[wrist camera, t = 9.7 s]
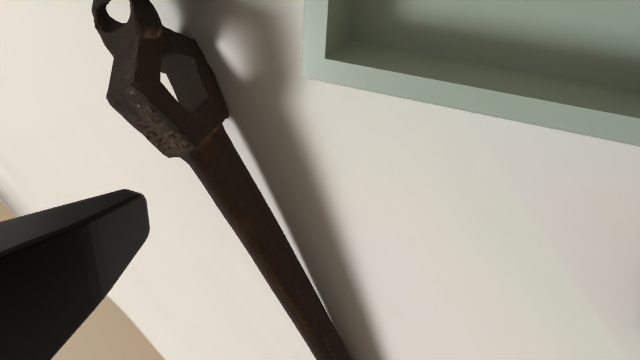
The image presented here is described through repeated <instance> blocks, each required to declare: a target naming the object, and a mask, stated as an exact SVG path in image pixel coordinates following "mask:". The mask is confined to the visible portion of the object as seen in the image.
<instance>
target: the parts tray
mask: <svg viewBox="0 0 640 360" xmlns="http://www.w3.org/2000/svg"><path fill="white" fill-rule="evenodd" d="M301 77H302V78H306V79H311V80H316V81H321V82H326V83H331V84H336V85H341V86H346V87H351V88H356V89H360V90H365V91H370V92H375V93H380V94H385V95H390V96H395V97H400V98H405V99H410V100H414V101H419V102H424V103H429V104H434V105H439V106H444V107H449V108H454V109H459V110H463V111H468V112H473V113H478V114H483V115H488V116H493V117H498V118H503V119H508V120H513V121H517V122H522V123H527V124H532V125H537V126H542V127H547V128H552V129H557V130H562V131H567V132H571V133H576V134H581V135H586V136H591V137H596V138H601V139H606V140H611V141H616V142H620V143H625V144H630V145H635V146H640V0H304V24H303V48H302V73H301Z"/></svg>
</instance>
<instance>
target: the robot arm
mask: <svg viewBox="0 0 640 360" xmlns="http://www.w3.org/2000/svg"><path fill="white" fill-rule="evenodd" d="M149 230H150V225H149V217H148V209H147V201H146V198H145V197H144V195H142V194H141V193H138V192H134V191H131V190H127V189H122V190H118V191H115V192H111V193H107V194H103V195H100V196H96V197H92V198H88V199H84V200H81V201H77V202H73V203H69V204H66V205H62V206H58V207H54V208H51V209H47V210H43V211H39V212H35V213H32V214H28V215H24V216H20V217H17V218H13V219H9V220H6V221H2V222H0V360H51V359H52V358H53V356H54V355H55V354H56V353H57V352H58V351H59V350H60V349H61V347H62V346H63V345H64V344H65V343H66V342H67V340H68V339H69V338H70V337H71V336H72V335H73V334H74V333H75V331H76V330H77V329H78V328H79V327H80V326H81V324H82V323H83V322H84V321H85V320H86V319H87V318H88V317H89V315H90V314H91V313H92V312H93V311H94V310H95V308H96V307H97V306H98V305H99V304H100V302H101V301H102V300H103V299H104V298H105V296H106V295H107V294H108V292H109V291H110V290H111V288H112V287H113V286H114V284H115V283H116V281H117V280H118V279H119V277H120V276H121V274H122V273H123V272H124V270H125V269H126V267H127V266H128V265H129V263H130V262H131V260H132V259H133V258H134V256H135V255H136V253H137V252H138V251H139V249H140V248H141V246H142V245H143V244H144V242H145V241H146V239H147V237H148V234H149Z"/></svg>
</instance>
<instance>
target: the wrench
mask: <svg viewBox="0 0 640 360" xmlns="http://www.w3.org/2000/svg"><path fill="white" fill-rule="evenodd" d="M110 1H111V0H93V5H92V14H93V17H94V23H95V28H96V29H97V31H98V33H99V34H100V36H101V38H102V41H103V43H104V44H105V46H106V48H107V49H108V50H109V51H110V53H111V54H112V55H113V57H114V61H113V66H112V71H111V77H110V82H109V88H108V92H107V95H106V98H107V100H108V102H109V104H110V105H111V106H112V107H113V108H114V109H115V110H116V111H117V112H118V113H119V114H121V115H122V116H123V117H124V118H125V119H126V120H127V121H128V122H129V123H130V124H131V125H132V126H133V127H134V128H135V129H137V130H138V131H139V132H140V133H142V134H143V135H144V136H145V137H146V138H147V140H149V141H150V142H151V143H152V144H153V145H154V146H155V147H156V148H157V149H158V150H159V151H160V152H161V153H162V154H163V155H165V156H167V157H168V158H171V157H180V158H182V159H183V160H184V161H186V162H187V163H188V164H189V165H190V167H191V168H192V169H193V171H194V172H195V174H196V175H197V177H198V178H199V179H200V181H201V182H202V184H203V185H204V187H205V188H206V190H207V191H208V193H209V195H210V196H211V198H212V199H213V201H214V202H215V204H216V205H217V207H218V208H219V210H220V211H221V213H222V214H223V216H224V217H225V219H226V220H227V222H228V223H229V224H230V226H231V227H232V229H233V230H234V232H235V233H236V235H237V236H238V238H239V239H240V241H241V242H242V244H243V245H244V247H245V248H246V250H247V251H248V253H249V254H250V256H251V257H252V259H253V261H254V262H255V264H256V265H257V267H258V268H259V270H260V272H261V273H262V275H263V276H264V278H265V280H266V281H267V283H268V284H269V286H270V287H271V289H272V291H273V292H274V294H275V295H276V297H277V298H278V300H279V301H280V303H281V304H282V306H283V308H284V309H285V311H286V312H287V314H288V315H289V317H290V318H291V320H292V321H293V323H294V324H295V326H296V328H297V329H298V331H299V332H300V334H301V335H302V337H303V339H304V340H305V342H306V343H307V345H308V347H309V348H310V350H311V352H312V353H313V355H314V357H315V358H316V360H351V358H350V356H349V354H348V352H347V350H346V348H345V346H344V344H343V343H342V340H341V338H340V337H339V335H338V333H337V331H336V329H335V327H334V325H333V323H332V322H331V320H330V318H329V316H328V314H327V312H326V310H325V308H324V307H323V305H322V303H321V301H320V299H319V297H318V295H317V293H316V292H315V290H314V288H313V286H312V284H311V283H310V281H309V279H308V277H307V275H306V273H305V272H304V270H303V268H302V266H301V264H300V262H299V261H298V259H297V257H296V255H295V253H294V251H293V249H292V248H291V246H290V244H289V242H288V240H287V238H286V236H285V235H284V233H283V231H282V229H281V227H280V226H279V224H278V222H277V220H276V218H275V217H274V215H273V213H272V211H271V210H270V208H269V206H268V204H267V203H266V201H265V199H264V197H263V196H262V194H261V192H260V190H259V189H258V187H257V185H256V183H255V182H254V180H253V179H252V177H251V175H250V173H249V171H248V170H247V168H246V166H245V165H244V163H243V161H242V159H241V157H240V156H239V154H238V152H237V151H236V149H235V147H234V146H233V144H232V142H231V140H230V138H229V137H228V135H227V133H226V131H225V129H224V127H223V125H222V123H223V121H224V120H225V119H226V118H227V119H228V117H229V113H228V109H227V107H226V104H225V102H224V99H223V97H222V94H221V92H220V89H219V86H218V84H217V81H216V78H215V75H214V73H213V71H212V69H211V68H210V66H209V64H208V63H207V61H206V59H205V57H204V55H203V53H202V51H201V50H200V48H199V46H198V44H197V42H196V41H195V40H194V39H191V38H189V37H187V36H184V35H182V34H180V33H177V32H174V31H172V30H170V29H168V28H165V27H164V26H163V25H162V23H161V20H160V18H159V15H158V13H157V11H156V9H155V8H154V6H153V5H152V3H151V2H150V1H149V0H129V1H130V8H131V13H130V17H129V20H128V22H127V23H120V22H118V21H116V20H114V19H113V18H111V17H110V16H109V14H108V13H107V11H106V5H107V4H109V2H110ZM160 72H162V73H166V74H167V77H168V79H169V81H170V83H171V85H172V87H173V89H174V92H175V94H176V97H177V99H178V101H177V100H176V99H175V98H174V97H173V96H172V95H171V94H170V92H169V91H168V90H167V89H166V88H165V86H164V85H163V84H162V83H161V82H160Z"/></svg>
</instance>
